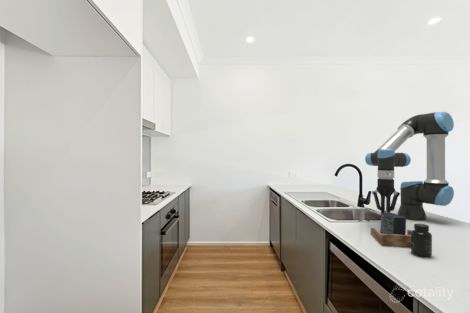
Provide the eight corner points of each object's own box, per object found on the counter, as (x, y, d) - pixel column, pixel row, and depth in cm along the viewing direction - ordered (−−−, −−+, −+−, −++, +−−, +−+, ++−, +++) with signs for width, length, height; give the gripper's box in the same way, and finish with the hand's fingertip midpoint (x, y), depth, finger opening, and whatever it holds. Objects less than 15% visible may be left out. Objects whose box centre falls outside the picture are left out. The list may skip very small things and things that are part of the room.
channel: (410, 236, 126) (410, 226, 126) (428, 249, 109) (428, 237, 109) (370, 233, 130) (370, 224, 130) (382, 245, 113) (382, 234, 113)
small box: (406, 239, 121) (407, 217, 121) (393, 239, 121) (393, 217, 121) (392, 232, 132) (392, 212, 132) (379, 232, 132) (380, 212, 132)
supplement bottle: (407, 252, 105) (406, 223, 105) (418, 250, 107) (418, 221, 107) (424, 259, 98) (424, 228, 98) (436, 256, 101) (436, 226, 101)
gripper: (374, 178, 131) (373, 224, 131) (402, 179, 128) (402, 226, 128) (370, 177, 138) (369, 221, 139) (396, 178, 135) (396, 222, 136)
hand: (385, 223), depth 133 cm, fingers closed
